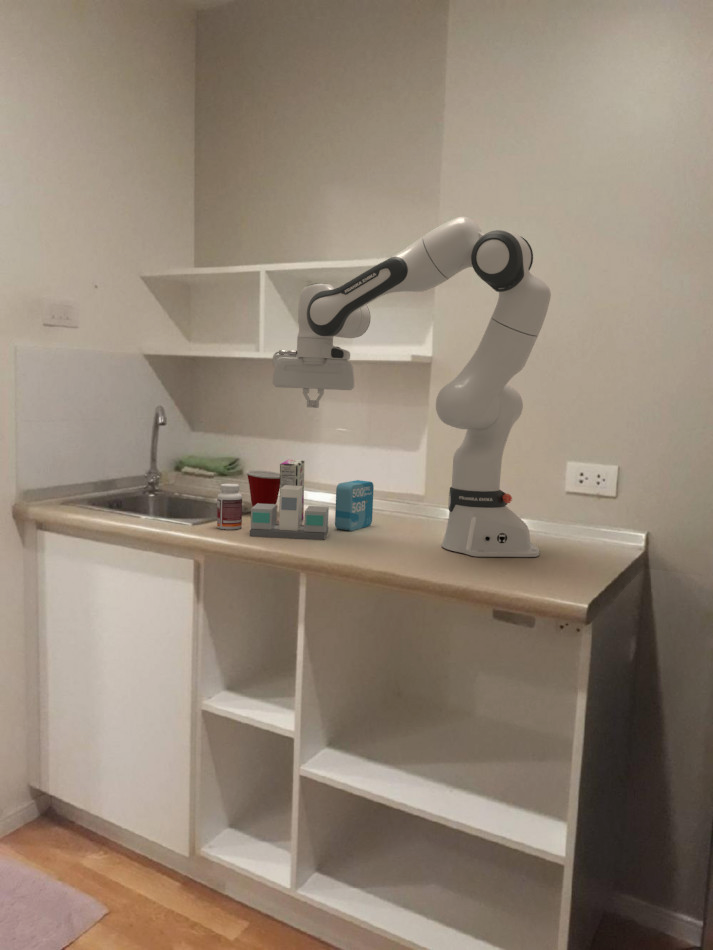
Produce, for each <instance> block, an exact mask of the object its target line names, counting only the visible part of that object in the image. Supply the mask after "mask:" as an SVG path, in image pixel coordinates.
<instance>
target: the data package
mask: <svg viewBox="0 0 713 950" xmlns="http://www.w3.org/2000/svg"><path fill="white" fill-rule="evenodd" d="M374 487H375V485H374V482H372V481H370V480H369V481H368V480H360V479H357V480H356V479H355V480H351V481H345V482H339V483H338V484H337V486H336V488H335V489H336V491H335V509H334V510H335V514H334V515H335V516H334V525H335V529H337V530H342V531H349V532H352V531H353V532H354V531H358V530H360V529H361V530H362V529H364V528H367V527H370V526H371V525H372V523H373V512H374V509H373V508H374Z"/></svg>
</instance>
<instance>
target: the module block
mask: <svg viewBox="0 0 713 950" xmlns="http://www.w3.org/2000/svg"><path fill="white" fill-rule="evenodd" d="M302 488H303V486H292V485H284V486H283V487H282V488H281V489H279V506H280V507H279V508H280V515H278V516H279V517H278V518H279V520H278V524H279V530H292V531H298V530H299V528H300V527H301V525H302V521H301V519H302ZM302 520H303V519H302Z"/></svg>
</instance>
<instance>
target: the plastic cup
mask: <svg viewBox="0 0 713 950" xmlns="http://www.w3.org/2000/svg"><path fill="white" fill-rule="evenodd" d="M245 474H246V476H247V479H248V485H249V492H250V493H249V494H250V502H251V508H252V507H253V506H255V505H256V504H257V503H260V504H277V502H278V498H279V495H280V472H277V471H271V470H261V469H259V470H258V469H253V470H246V471H245Z"/></svg>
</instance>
